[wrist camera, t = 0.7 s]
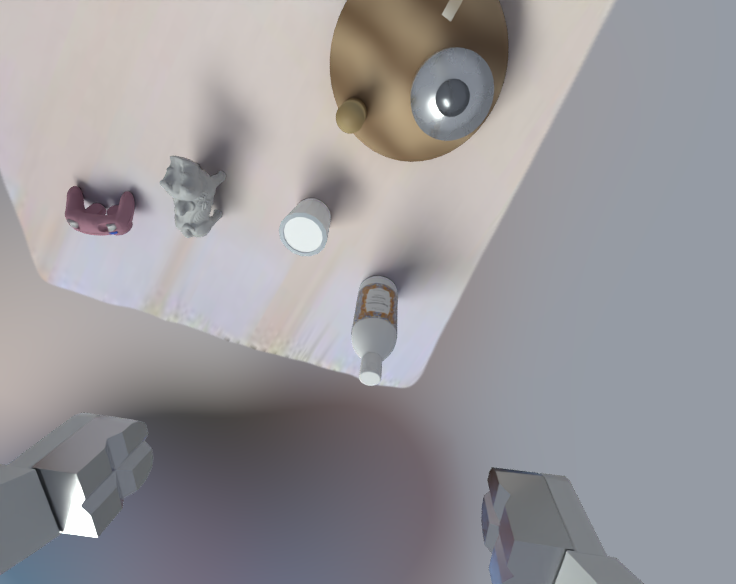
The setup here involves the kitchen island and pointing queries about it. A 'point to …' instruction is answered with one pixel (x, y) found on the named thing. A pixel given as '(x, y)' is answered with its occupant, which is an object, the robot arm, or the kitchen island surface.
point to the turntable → (405, 65)
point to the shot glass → (306, 227)
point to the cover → (451, 93)
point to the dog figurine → (192, 196)
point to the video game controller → (99, 214)
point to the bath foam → (374, 326)
